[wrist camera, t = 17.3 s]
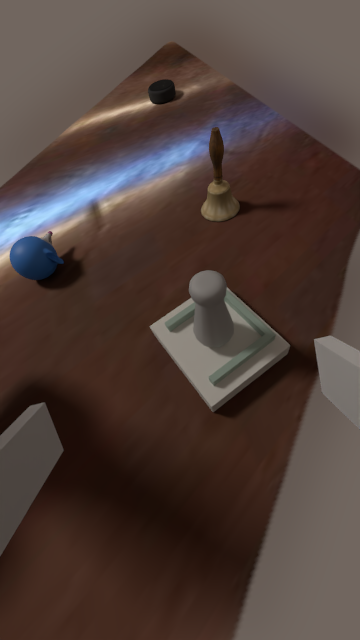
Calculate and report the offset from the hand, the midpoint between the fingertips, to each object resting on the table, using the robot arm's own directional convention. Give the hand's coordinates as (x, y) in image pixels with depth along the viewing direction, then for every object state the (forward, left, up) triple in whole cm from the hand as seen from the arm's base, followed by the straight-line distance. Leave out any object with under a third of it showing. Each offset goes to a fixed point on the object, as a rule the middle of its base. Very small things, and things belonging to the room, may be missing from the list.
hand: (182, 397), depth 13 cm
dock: (-13, +10, -27) cm, 32 cm away
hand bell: (-38, +31, -28) cm, 56 cm away
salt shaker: (-13, +10, -24) cm, 29 cm away
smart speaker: (-97, +54, -28) cm, 114 cm away
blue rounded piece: (-51, -6, -27) cm, 58 cm away
